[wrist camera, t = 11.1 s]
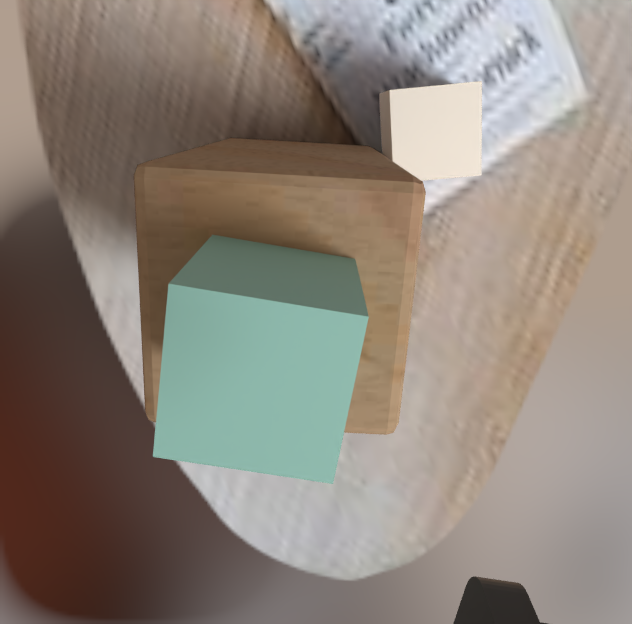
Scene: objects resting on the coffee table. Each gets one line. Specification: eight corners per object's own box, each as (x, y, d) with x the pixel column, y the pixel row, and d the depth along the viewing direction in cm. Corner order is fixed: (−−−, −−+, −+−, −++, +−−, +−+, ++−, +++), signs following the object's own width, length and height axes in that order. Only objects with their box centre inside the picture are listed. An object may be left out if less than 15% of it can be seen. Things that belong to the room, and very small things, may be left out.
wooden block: (224, 137, 38) (128, 161, 19) (375, 146, 38) (430, 179, 19) (224, 282, 41) (141, 426, 22) (363, 290, 41) (398, 440, 22)
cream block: (378, 93, 37) (389, 90, 31) (456, 86, 37) (481, 81, 31) (382, 172, 38) (393, 183, 33) (457, 166, 38) (481, 175, 33)
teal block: (212, 234, 20) (168, 283, 14) (355, 258, 20) (369, 316, 14) (197, 365, 21) (153, 456, 16) (329, 386, 22) (332, 483, 16)
